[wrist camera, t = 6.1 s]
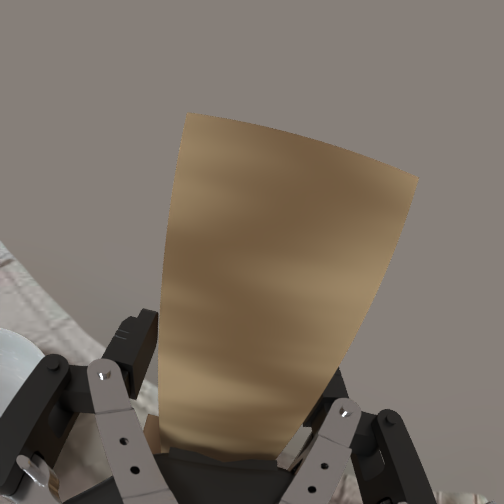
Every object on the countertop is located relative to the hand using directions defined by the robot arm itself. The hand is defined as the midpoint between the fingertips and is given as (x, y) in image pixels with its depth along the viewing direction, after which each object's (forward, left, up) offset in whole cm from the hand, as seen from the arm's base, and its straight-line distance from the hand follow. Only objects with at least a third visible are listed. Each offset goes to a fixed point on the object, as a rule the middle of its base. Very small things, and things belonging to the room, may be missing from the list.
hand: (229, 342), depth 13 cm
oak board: (0, -2, -13) cm, 13 cm away
